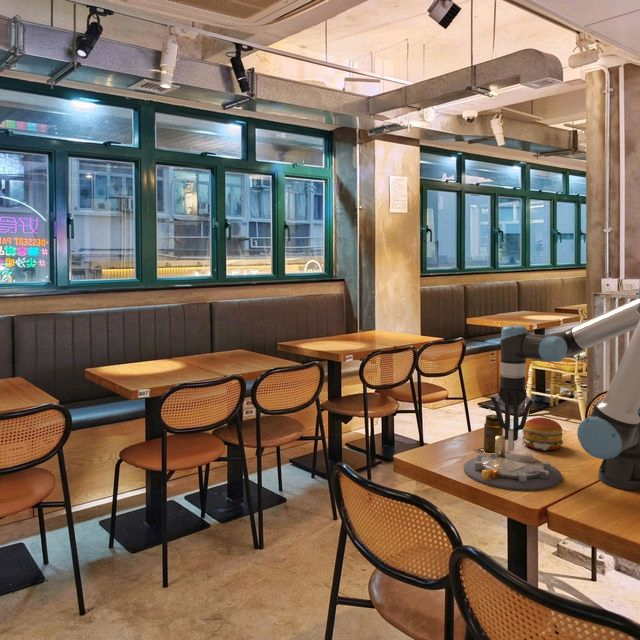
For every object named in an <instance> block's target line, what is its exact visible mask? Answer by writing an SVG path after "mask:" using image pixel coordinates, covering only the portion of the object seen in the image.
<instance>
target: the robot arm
mask: <svg viewBox="0 0 640 640" xmlns="http://www.w3.org/2000/svg"><path fill="white" fill-rule="evenodd" d="M633 330H634V331H633ZM631 331H633V334H632V336H631V338H630V340H629V343H628V344H627V347H626V348H625V349H626V350H625V352H624V353H623V355H622V358H621V360H620V363H619V364H618V367H617V370H616V371H615V374H614V375H613V378H612V380H611V383H610V385H609V388H608V390H607V392H606V394H605V396H604V398H602V399H601V398H600V399H598V400H597V401H595V403H594V405H593V408H592V410H591V413H590V415H589V416H588V417H586V418H584V419H583V420H581V422H580V423H579V425H578V427H577V432H576V433H577V439H578V442H579V444H580V446H581V448H582V449H583V450H584V451H585V452H586V453H587V454H588V455H589V456H591V457H593V458H595V459H599V460H602V462H601V464H600V466H599V468H598V473H597V474H598V476H597V478H598V480H599V481H600V482H601V483H603V484H605V485H606V486H610V487H613V488H617V489H621V490H628V491H635V492H636V491H637V492H638V491H640V287H639V289H638V298H635V299H634V300H631V301H628V302H626V303H624V304H621V305H619V306H617V307H615V308H613V309H611V310H608V311H606V312H604V313H601V314H600V315H597V316H594V317H593V318H591V319H588V320H586V321H584V322H582V323H579V324H578V325H575V326H573V327H570V328H569V329H567V330H564V331H561V332H556V333H549V334H534V333H528V329H527V327H526V326H523V325H514V324H512V325H510V324H509V325H504V326H503V327H501V334H500V364H499V365H500V368H499V369H500V370H499V371H500V372H499V373H500V377H499V390H498V392H497V394H495V395H492V396H491V397H490V399H491V402H492V403H493V407H494V410H495V415H497V420H498V424H499V427H502V428H503V430H504V436H505V437H506V439H505V441H507V451H508V452H511V453H512V452H513V453H514V450H515V442H516V441H518V439H519V431H521V430H522V429H524V426H525V423H526V422H527V421H528V420H527V419H528V417H529V413H530V409H531V406H532V405H533V404H534V402H535V399H534V398H531V397H529V396H528V394H527V391H526V381H527V380H526V377H525V376H526V374H527V368H526V367H527V364H526V363H527V360H536V361H541V362H542V361H543V362H547V363H552V362H553V363H560V362H562V361H563V360H564V359H565V358H566V357H574V356H576V355H578V354H580V353H582V352H583V351H584V350H587V349H589V348H592V347H594V346H597V345H599V344H602V343H604V342H606V341H609V340H611V339H614V338H617V337H619V336H621V335H624V334H626V333H629V332H631ZM500 400H501V401H502V403H503V405H504V417H503V412H502V408H501V404H500ZM523 402H524V403H525V406H524V409H523V413H522V417H521V420H520V422H519V418H520V412H519V411H520V405H521V404H522V403H523ZM511 406H512V407H513V417H512V418H513V421H512V423H513V424H512V425H513V427H512V428H511ZM519 423H520V424H519ZM522 431H523V430H522Z"/></svg>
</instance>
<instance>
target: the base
mask: <svg viewBox="0 0 640 640" xmlns="http://www.w3.org/2000/svg"><path fill="white" fill-rule="evenodd" d="M474 461H478V456H477V457H474V458H473V457H472V458H471V459H469V460H467V461H465V463H464V465H463V471H464V473H465V475H466V476H467V477H469V478H470V479H471V480H474V481H476V482H477V483H480V484H483V485H486V486H489V487H494V488H498V489H502V490H503V489H505V490H513V491H540V490H547V488H548V489H551V488H554V487H556V486H558V485H559V484H560V483H561V482H562V478H563V477H562V473H561V471H560V470H559V469H557V467H555V466H553V465H551V468H550V470H547V471H549V478H547V479H542V478H539V477H538V478H534V479H527V482H519V481H518V480H517V479H507V478H501V477H498V478H496V479H494V478H490V477H489V470H475V469H474ZM560 481H561V482H560ZM557 484H558V485H557Z"/></svg>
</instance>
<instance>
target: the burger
mask: <svg viewBox="0 0 640 640" xmlns="http://www.w3.org/2000/svg"><path fill="white" fill-rule="evenodd" d="M521 432H522V433H523V436H522V438H521V439H522V441H521V443H522V444H525V446H527V447H529V448H531V449H534V450H540V451H554V450H558V449H559V448H561V446H562V445H563V444H564V440H563V439H562V438H563V428H562V426H561V425H560V423H559V422H557V421H556V420H554V419H552V418H547V417H535V418H531V419H528V420H526V423H525V426H524V428H523V429H522V431H521Z"/></svg>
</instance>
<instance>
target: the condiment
mask: <svg viewBox="0 0 640 640" xmlns="http://www.w3.org/2000/svg"><path fill="white" fill-rule="evenodd" d="M483 425H484V429H483V430H484V431H483V433H484V435H483V447H480V448H477V449H474V451H475V452H476V453H477V452H478V453H479V454H485V453H495V436H497V435H502V436H504V431H503V430H504V428H502V427H499V424H498V420H497V415H496V414H487V415H485V423H484V424H483ZM480 449H484V451H485V453H483V452H484V451H481V450H480ZM505 451H506V453H508V452H509V451H508V450H505ZM485 455H486V454H485ZM489 455H490V454H489Z"/></svg>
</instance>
